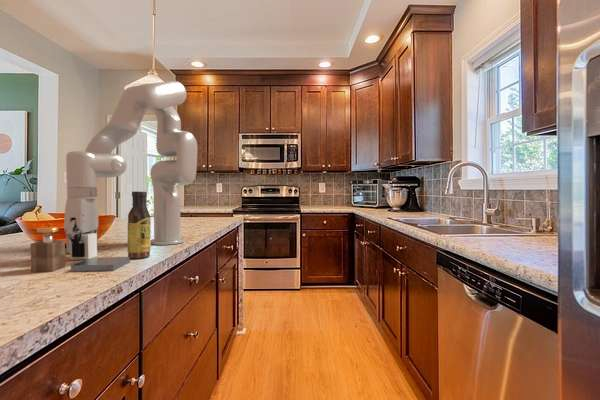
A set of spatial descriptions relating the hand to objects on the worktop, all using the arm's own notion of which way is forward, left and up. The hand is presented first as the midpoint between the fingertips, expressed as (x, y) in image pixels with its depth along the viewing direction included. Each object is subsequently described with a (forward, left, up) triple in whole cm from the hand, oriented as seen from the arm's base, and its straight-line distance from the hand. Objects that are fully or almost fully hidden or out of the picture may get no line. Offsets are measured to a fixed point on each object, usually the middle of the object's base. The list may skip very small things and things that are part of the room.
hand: (83, 254), depth 98 cm
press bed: (+12, +11, -1) cm, 16 cm away
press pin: (+14, -1, +3) cm, 15 cm away
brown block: (+14, -1, -1) cm, 14 cm away
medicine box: (-11, -6, -1) cm, 12 cm away
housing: (0, 0, -1) cm, 1 cm away
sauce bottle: (0, +16, -1) cm, 16 cm away
